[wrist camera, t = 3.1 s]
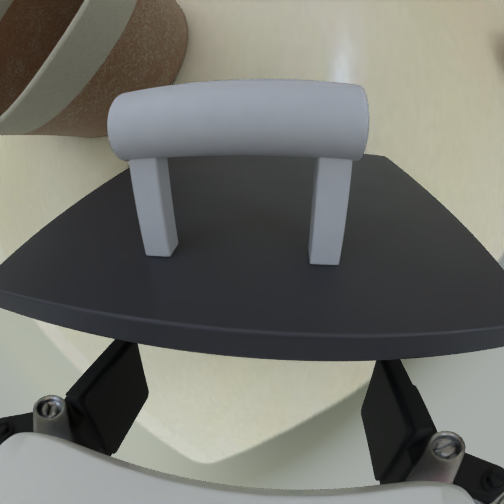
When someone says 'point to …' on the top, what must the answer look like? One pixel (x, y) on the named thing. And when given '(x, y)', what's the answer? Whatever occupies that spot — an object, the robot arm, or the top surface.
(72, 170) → the top surface
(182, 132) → the lid
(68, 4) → the planter
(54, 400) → the robot arm
